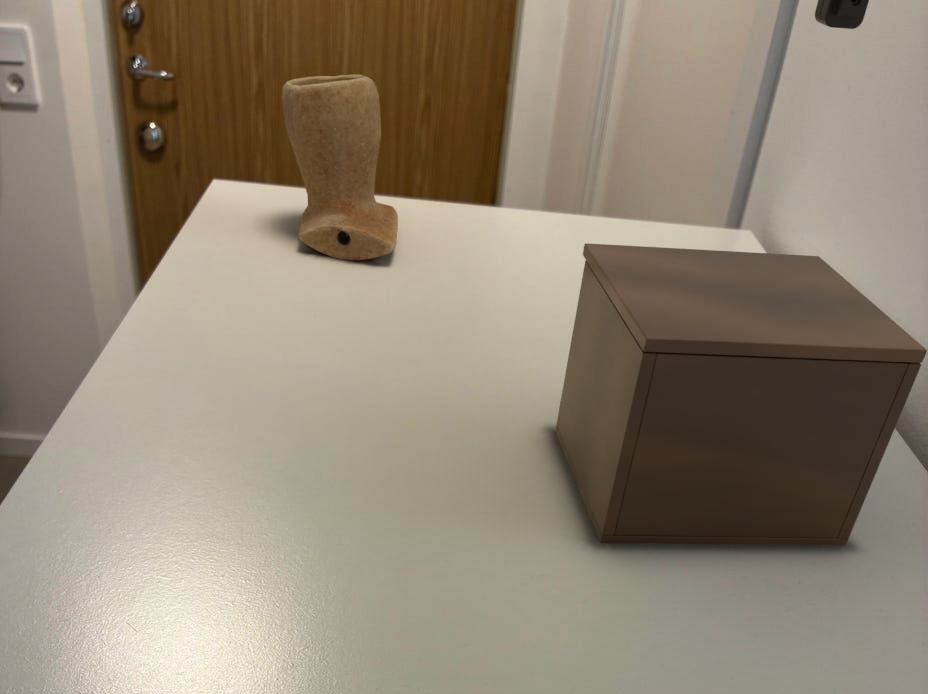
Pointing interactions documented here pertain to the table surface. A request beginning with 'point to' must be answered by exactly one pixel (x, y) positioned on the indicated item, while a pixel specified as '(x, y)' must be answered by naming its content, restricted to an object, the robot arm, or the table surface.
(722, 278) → the chest lid
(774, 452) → the chest
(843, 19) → the robot arm
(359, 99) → the tan boot
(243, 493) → the table surface
